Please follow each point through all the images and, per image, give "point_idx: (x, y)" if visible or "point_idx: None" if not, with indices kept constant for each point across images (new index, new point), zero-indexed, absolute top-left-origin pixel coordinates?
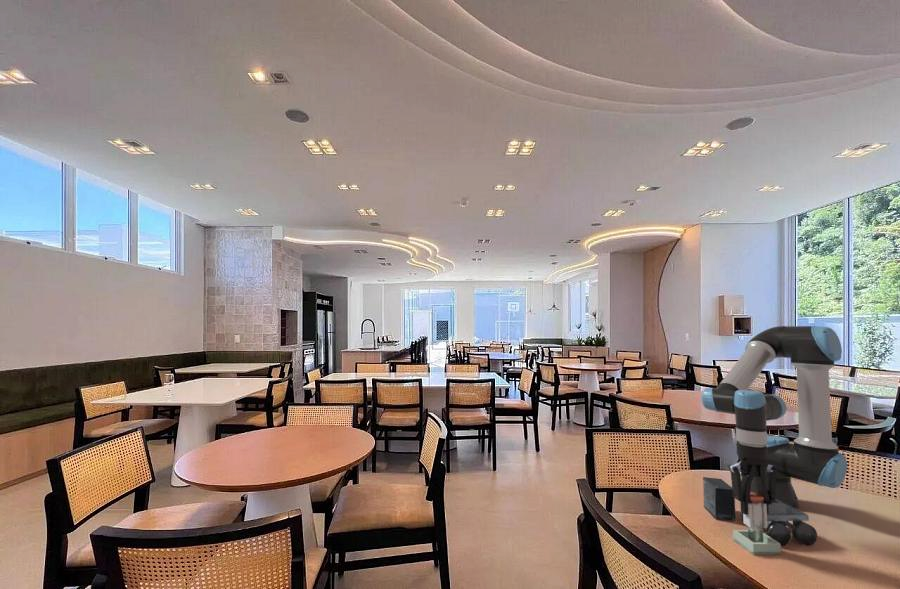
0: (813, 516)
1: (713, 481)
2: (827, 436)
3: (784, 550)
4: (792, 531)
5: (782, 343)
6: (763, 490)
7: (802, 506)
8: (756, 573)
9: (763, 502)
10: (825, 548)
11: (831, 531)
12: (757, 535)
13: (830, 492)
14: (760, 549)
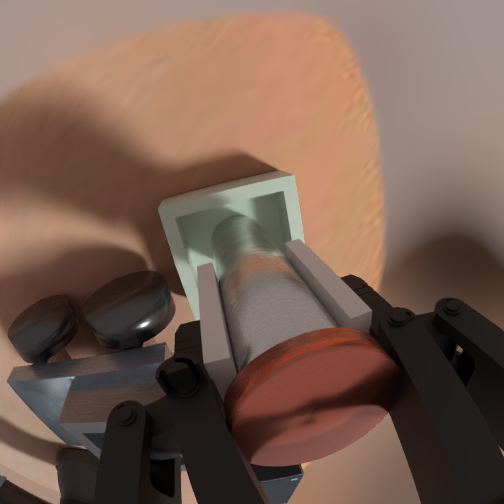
0: (33, 427)
1: (275, 497)
2: None
3: (133, 241)
4: (73, 331)
5: None
6: (250, 488)
7: (51, 453)
8: (331, 51)
9: (215, 387)
10: (14, 290)
11: (3, 377)
12: (254, 229)
13: (23, 470)
14: (255, 178)
